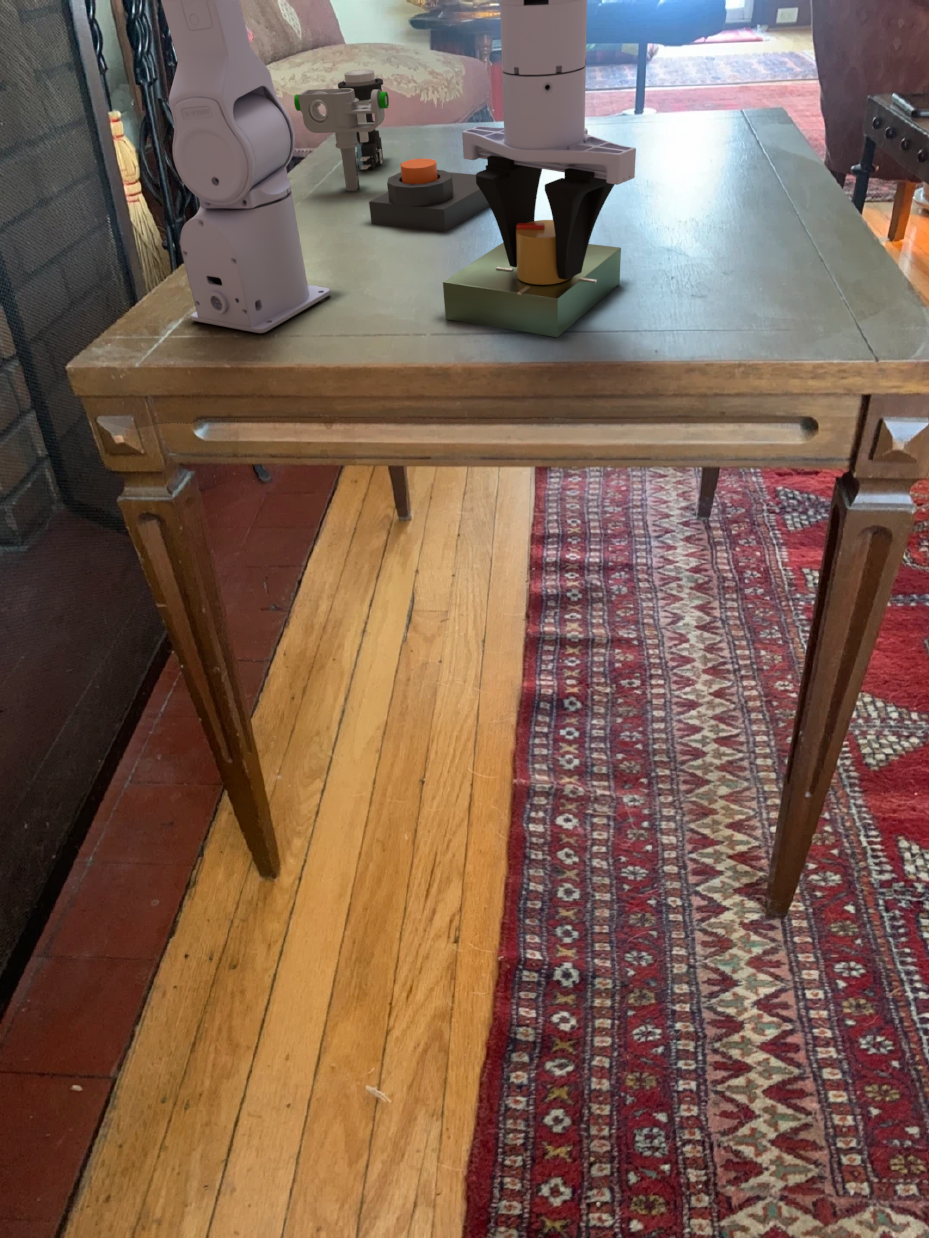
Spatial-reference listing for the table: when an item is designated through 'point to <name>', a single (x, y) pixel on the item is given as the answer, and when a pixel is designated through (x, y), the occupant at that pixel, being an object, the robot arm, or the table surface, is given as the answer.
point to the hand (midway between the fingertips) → (545, 269)
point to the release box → (429, 202)
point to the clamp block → (529, 293)
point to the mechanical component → (341, 121)
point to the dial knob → (537, 253)
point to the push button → (365, 116)
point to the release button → (419, 171)
